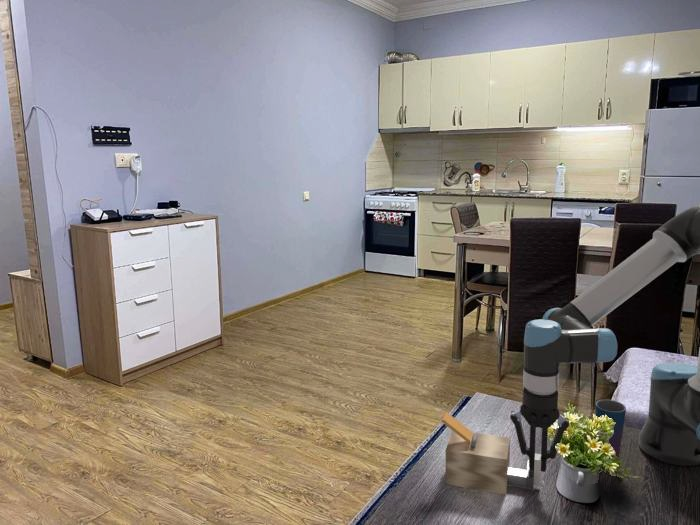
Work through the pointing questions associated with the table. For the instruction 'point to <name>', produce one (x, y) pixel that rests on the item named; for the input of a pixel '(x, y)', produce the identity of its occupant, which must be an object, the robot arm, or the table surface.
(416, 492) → the table surface
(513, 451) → the table surface
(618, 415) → the cup
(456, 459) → the block
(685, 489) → the table surface
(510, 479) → the white l-shaped bar
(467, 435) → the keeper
